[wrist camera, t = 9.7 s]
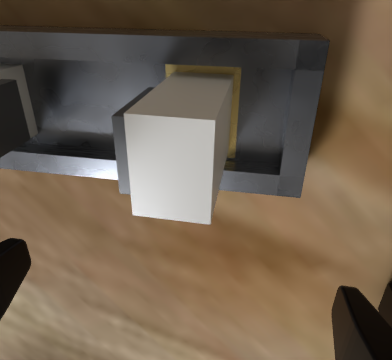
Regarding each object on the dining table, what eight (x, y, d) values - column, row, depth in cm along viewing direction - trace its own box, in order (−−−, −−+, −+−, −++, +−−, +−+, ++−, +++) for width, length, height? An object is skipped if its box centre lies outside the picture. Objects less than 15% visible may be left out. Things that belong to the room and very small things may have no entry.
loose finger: (233, 75, 16) (215, 120, 10) (228, 149, 18) (210, 224, 12) (158, 70, 17) (100, 111, 11) (161, 143, 19) (113, 212, 13)
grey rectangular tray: (319, 33, 16) (329, 40, 14) (295, 171, 20) (300, 198, 17) (-55, 24, 20) (-103, 28, 17) (-16, 144, 23) (-52, 163, 21)
